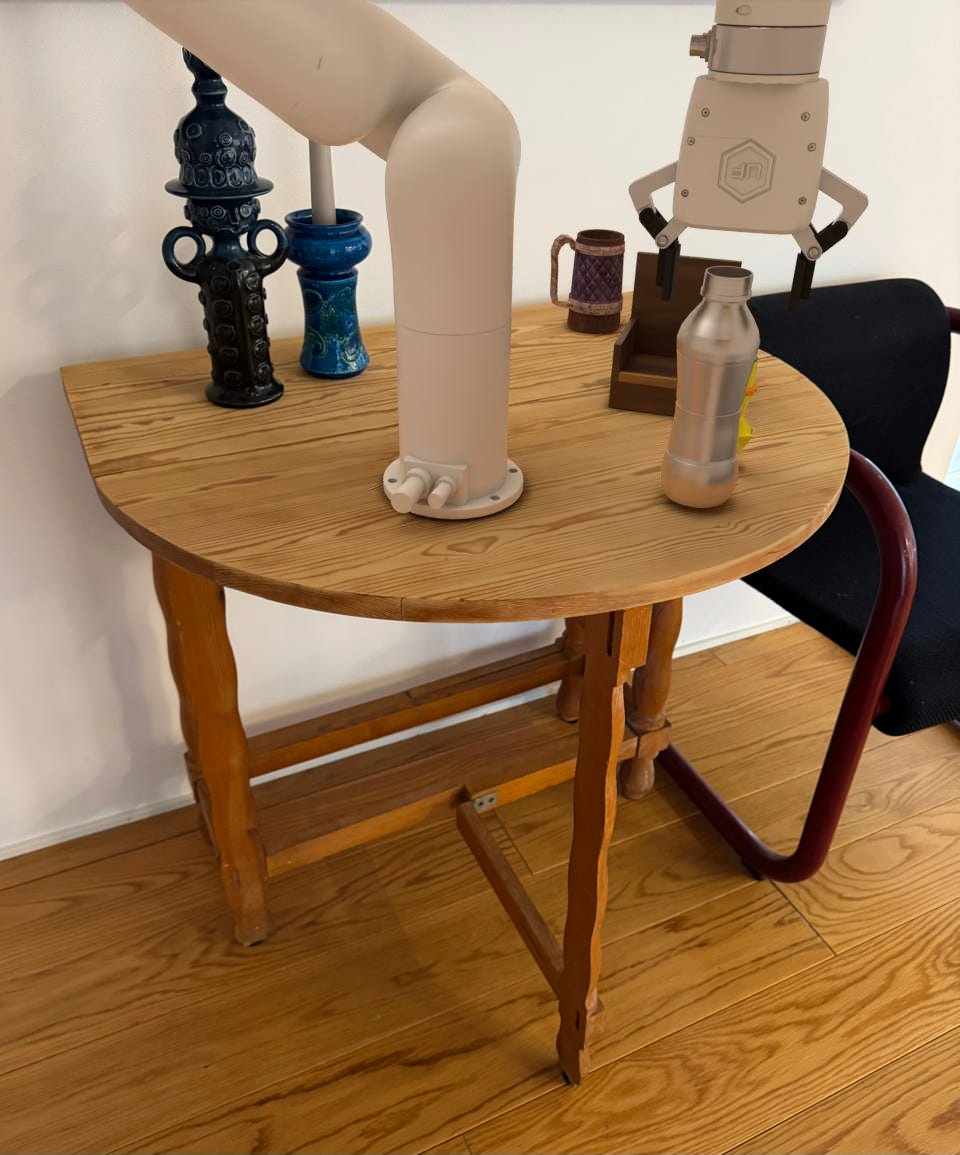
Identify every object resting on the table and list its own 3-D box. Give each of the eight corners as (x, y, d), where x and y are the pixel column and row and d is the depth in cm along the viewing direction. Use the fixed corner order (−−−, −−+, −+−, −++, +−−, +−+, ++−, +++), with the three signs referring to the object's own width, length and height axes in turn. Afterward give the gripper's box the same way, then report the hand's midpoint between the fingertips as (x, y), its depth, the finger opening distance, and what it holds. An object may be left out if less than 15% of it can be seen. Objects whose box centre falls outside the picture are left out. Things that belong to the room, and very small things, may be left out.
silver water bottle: (740, 518, 82) (783, 284, 71) (661, 516, 82) (693, 283, 71) (725, 483, 87) (764, 261, 76) (651, 481, 87) (679, 260, 76)
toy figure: (683, 454, 92) (701, 333, 86) (712, 447, 94) (731, 327, 87) (731, 482, 87) (754, 357, 81) (760, 474, 89) (784, 350, 82)
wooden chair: (711, 421, 99) (733, 286, 91) (608, 407, 102) (620, 275, 94) (721, 387, 107) (742, 260, 99) (625, 375, 110) (638, 251, 102)
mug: (606, 315, 128) (614, 223, 122) (629, 332, 122) (639, 236, 116) (536, 322, 125) (540, 228, 119) (556, 339, 120) (562, 241, 113)
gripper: (631, 56, 65) (612, 305, 74) (901, 63, 60) (844, 328, 70) (649, 48, 71) (629, 280, 80) (896, 54, 66) (844, 299, 76)
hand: (729, 302), depth 75 cm, fingers open, 9 cm apart
